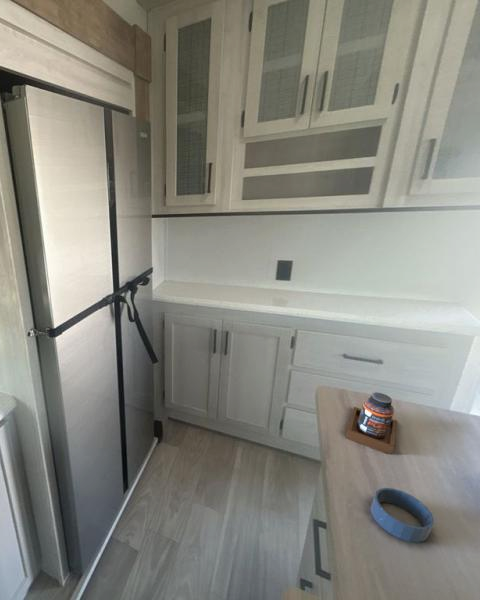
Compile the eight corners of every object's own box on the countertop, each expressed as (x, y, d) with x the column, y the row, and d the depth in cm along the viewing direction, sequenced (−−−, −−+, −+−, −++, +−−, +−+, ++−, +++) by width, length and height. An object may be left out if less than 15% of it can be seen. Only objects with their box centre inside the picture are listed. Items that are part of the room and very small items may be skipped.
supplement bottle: (363, 438, 86) (373, 403, 81) (351, 422, 91) (361, 388, 87) (391, 441, 84) (403, 405, 80) (377, 424, 89) (388, 390, 85)
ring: (406, 506, 69) (413, 490, 68) (437, 549, 62) (446, 532, 60) (360, 502, 71) (365, 485, 69) (385, 542, 64) (392, 525, 62)
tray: (352, 413, 94) (353, 406, 93) (395, 427, 88) (397, 420, 87) (345, 437, 87) (347, 430, 86) (391, 455, 81) (394, 447, 80)
